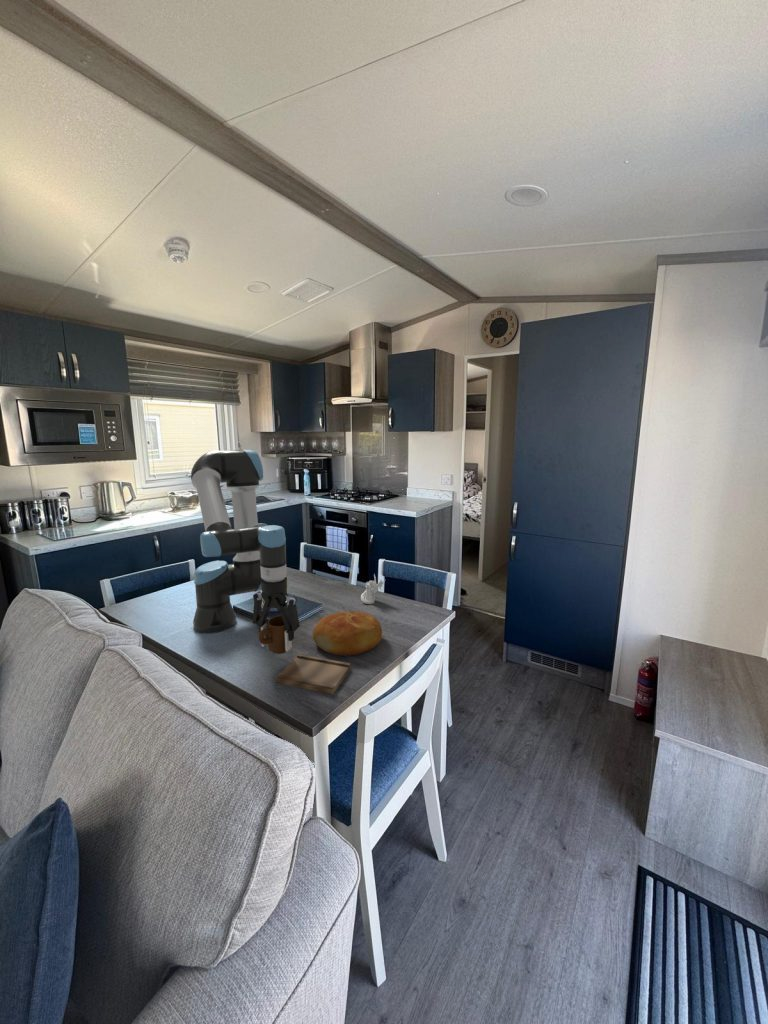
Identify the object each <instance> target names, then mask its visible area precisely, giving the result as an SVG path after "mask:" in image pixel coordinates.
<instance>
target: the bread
mask: <svg viewBox="0 0 768 1024" xmlns="http://www.w3.org/2000/svg"><path fill="white" fill-rule="evenodd" d="M382 637H383V629H382V626H381V624H380V622H379V620H378V619H377V618H376V617H375V616H374V615H371V614H370V613H366V612H364V611H363V612H362V611H356V610H355V611H354V610H353V611H338V612H334V613H331V614H328V615H325V616H324V617H322V618H321V619H320V620H318V622H317V623H316V625H315V626H314V628H313V631H312V638H313V641H314V643H315V644H316V645H317V646H318V648H320V649H321V650H322V651H325V652H327V653H329V654H332V655H336V656H356V655H360V654H363V653H366V652H368V651H371V650H372V649H374V648H375V647H376V646H377V645H378V644H379V643H380V642H381V641H382Z"/></svg>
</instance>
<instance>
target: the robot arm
mask: <svg viewBox="0 0 768 1024" xmlns="http://www.w3.org/2000/svg"><path fill="white" fill-rule="evenodd" d="M263 469H264V468H263V464H262V460H261V458H260V456H259V454H258V452H257V451H255V450H253V449H233V450H232V449H231V450H229V449H228V450H227V449H225V450H211V451H208V452H206V453H204V454H202V455H201V456H199V457H198V459H196V461H195V463H194V464H193V465H192V468H191V471H190V480H191V483H192V484H191V485H192V486H193V488H195V489H196V493H197V498H198V502H199V507H200V511H201V512H200V513H201V516H202V522H203V525H204V532H201V533H200V536H199V539H200V540H199V541H200V548H201V554H202V556H203V557H205V558H212V557H222V556H228V555H229V556H230V555H234V557H233V558H232V563H230V564H229V563H228V562H227V561H225V560H213V561H210V562H209V561H208V562H206V563H203V564H202V565H200V566H198V567H197V568H196V569H195V571H194V581H193V583H194V586H195V589H194V590H195V597H196V600H195V601H196V609H195V612H194V616H193V617H194V618H193V621H192V624H193V625H192V626H193V630H195V632H197V633H202V634H203V633H205V634H211V633H212V634H213V633H219V632H223V631H226V630H228V629H230V628H232V627H234V626H235V624H236V622H237V614H236V612H235V611H234V608H233V605H232V603H231V596H236V595H241V594H247V593H248V594H249V593H253V592H254V594H253V595H252V598H253V601H254V602H253V613H252V624H256V625H257V626H258V634H259V633H260V631H262V630H263V629H265V628H267V626H268V620H267V619H268V616H269V614H270V610H271V608H274V609H276V610H277V612H278V613H279V615H280V616H281V617H282V619H283V622H284V624H285V627H286V629H287V630H286V631H285V651H287V652H286V653H289V651H291V650H292V648H293V640H294V639H295V633H294V632H295V631H297V630H298V629H299V628H300V627H301V625H300V620H299V614H298V608H297V601H298V598H297V597H296V596H294V597H291V596H289V594H288V593H287V592H288V590H287V589H288V579H287V576H288V575H287V571H288V570H287V551H286V549H287V548H286V547H287V545H286V544H287V543H286V540H287V537H286V532H285V531H286V530H285V528H284V527H283V526H281V525H275V524H272V525H268V524H267V523H264V522H263V523H262V522H260V523H259V522H258V521H259V519H258V508H257V507H258V506H257V494H256V490H257V489H258V488H259V486H260V482H261V481H263V480H264V470H263ZM222 483H225V484H226V488H227V489H228V490H229V491H230V492H231V501H232V515H233V526H234V527H233V528H232V525H231V520H230V518H229V513H228V511H227V506H226V503H225V499H224V495H223V492H222V487H221V484H222ZM235 554H236V555H235ZM263 601H264V604H263ZM262 605H263V606H262ZM262 608H263V609H262ZM265 638H268V637H267V634H265V635H264V639H265ZM265 646H268V644H261V647H265Z"/></svg>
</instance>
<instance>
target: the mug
mask: <svg viewBox="0 0 768 1024" xmlns="http://www.w3.org/2000/svg"><path fill="white" fill-rule="evenodd" d="M267 624H268V626H267V628H265V629H263V630H262V631H260V633H259V632H258V636H257V638H258V642H259V643H260V644H261V645H262V644H267V649H268V651H269V652H270V653H272V654H277V655H281V654H285V653H288V652H287V651H285V631H286V630H287V629H286V627H285V624H284V622H283V619H282V617H281V615H275V616H273V617H271V618H269V619H268V620H267ZM265 634H267V637H268V638H265V639H264V635H265Z"/></svg>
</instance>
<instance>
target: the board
mask: <svg viewBox="0 0 768 1024" xmlns="http://www.w3.org/2000/svg"><path fill="white" fill-rule="evenodd" d="M350 671H351V663H350V662H344V661H338V660H333V659H328V658H324V657H317V656H311V655H308V654H301V653H298V654H296V657H295V658H294V659H293V660H292V661H291V662H290V663H289V665H288V666H286V667H285V669H283V671H281V673H280V674H277V675H276V676H275V678H276V680H275V681H276V683H277V684H281V685H286V686H292V687H295V688H299V689H305V690H310V691H315V692H320V693H324V694H328V695H334V694H335V692H336V691H337V690H338V688H339V686H340V685H341V684H342V682H343V681H344V679H345V678H346V677H347V675H348V674H349V672H350Z"/></svg>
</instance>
